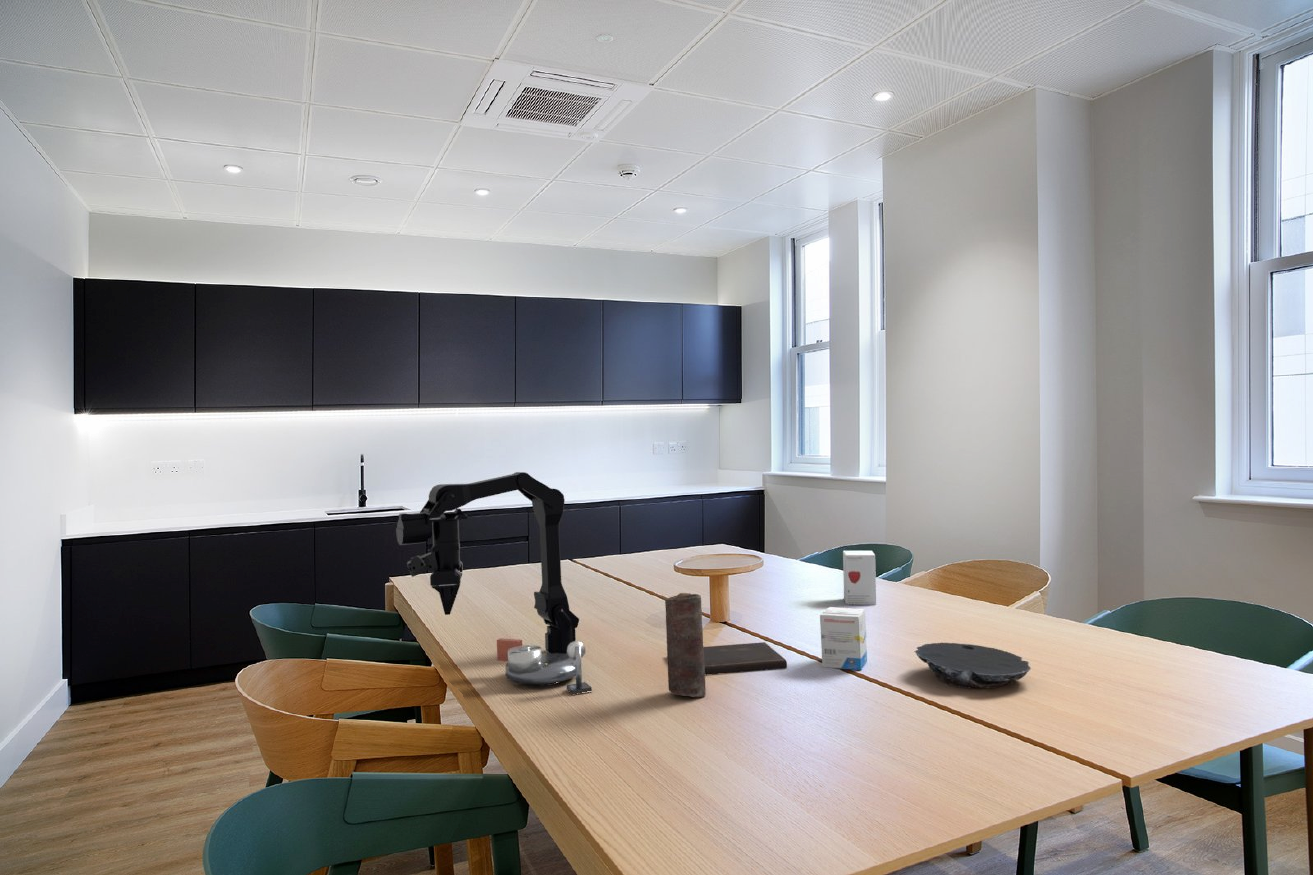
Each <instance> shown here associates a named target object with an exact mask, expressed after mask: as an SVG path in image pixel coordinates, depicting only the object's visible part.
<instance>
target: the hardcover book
mask: <svg viewBox="0 0 1313 875" xmlns="http://www.w3.org/2000/svg"><path fill="white" fill-rule="evenodd" d="M703 650H704V667H705V674H706V675H705V676H708V675H707V674H712V675H719V674H718V673H724V674H735V673H747V672H758V671H759V672H760V671H773V670H782V669H783V670H784V669H788V662H787V660H786V658H784V657H783V656H782V655H781V654H779V652H777V651H776V650H775V649H773V647H771V646H770V645H769V644H767V643H766V642H765V641H763V642H761V641H760V642H751V643H749V642H748V643H738V644H726V645H713V646H711V645H710V646H709V645H708V646H703Z"/></svg>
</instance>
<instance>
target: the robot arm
mask: <svg viewBox="0 0 1313 875" xmlns="http://www.w3.org/2000/svg"><path fill="white" fill-rule="evenodd" d="M514 491H518V492H520V493H521V495H523V496H524V497H525V498H526V499H528V500H529V501H531V504H532V509H533V513H534V516H535V518H536V521H537V523H538V526H539V527H538V528H539V542H540V543H539V544H540V565H541V568H540V569H541V585H540V586H541V587H540V589H539V591H534V592H533V597H534V607H533V608H534V609H535V610H536V612H537V615H538V616H540V617H541V618H542V619H543V622H544V624H545V625H546V632H545V633H544V641H545V642H544V643H545V644H544V645H545V646H544V647H545V651H546V650H547V651H548V652H547V651H546V652H547V653H562V654H567V647H568V645H569V644H570V643H571V642H573V641H577V640H576V638H577V637H576V629H577V628H578V627H579V624H580V623H579V622H580V618H579V617H578V616H576V615H575V614H574V613H573V612H572V611H571V610H570V605H569V600H568V596H567V593H566V591H565V589H564V586H563V584H562V565H561V563H562V562H561V561H562V560H561V543H560V542H561V541H560V523H561V520H562V517H563V515H564V509H565V495H564V493H562V492H561V491H560V489H557V488H552V487H549V486H548V485H546V484H544V483H542V482H541V481H539V480H538V479H536V478H534V477H533V476H531V475H530V474H529V473H527V472H524V471H523V472H522V471H518V472H517V471H516V472H514V473H512V474H506V475H502V476H498V477H494V478H488V479H484V480H479V481H475V482H470V483H446V484H445V483H443V484H442V483H441V484H436V485H434V486H433V487H431V489H430V491H429V494H428V500H427V501H426V503H425V504H424V506H423V507H422V509H421V510H420V511H419V512H418V513H417V512H415V513H406V512H405V513H404V512H403V513H399V514H398V521H397V524H396V526H397V527H395V528H396V529H395V534H396V541H397V543H398V545H399V546H406V545H414V544H415V545H416V544H423V543H424V544H425V543H427V542H428V540H429V539H431V538H432V546H431V548H430V552H428V553H425V554H422V555H416V556H413V557H411V558H410V560H408V561H407V562H406V566H407V570H408V572H409V573H410V576H411V578H412V577H416V576H419V574H421V573H423V572H426V571H429V570H431V571H432V573H431V574H430V576H429V581H430V584H429V585H430V586H431V588H432V589H434V590H435V591H436V592H438V594H439V597H440V601H441V605H442V609H443V612H444V615H446V616H448V615H451V613H452V610H453V607H454V605H455V604H454V603H455V601H456V599H457V595H458V592H459V590H460V586H461V581H462V580H461V579H462V576H463V571H464V568H463V566H464V565H463V561H461V555H460V554H461V551H460V550H461V543H460V529H459V528H460V524H459V520H467V519H468V518H469V517H468V515H466V513H464V512H463V511H462V509H460V508H461V507H463V506H466V505H467V504H469V503H471V502H473V501H475V500H478V499H484V498H488V497H493V496H496V495H500V494H501V495H502V494H504V493H511V492H514ZM450 511H452V512H450Z"/></svg>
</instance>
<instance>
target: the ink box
mask: <svg viewBox="0 0 1313 875" xmlns="http://www.w3.org/2000/svg"><path fill="white" fill-rule="evenodd" d="M866 611H867V610H866V609H865V608H864V609H861V608H860V609H859V608H848V607H834V606H829V607H828V608H826V609H825V610H824V611H822V613H820V615H819V624H820V640H821V642H820V644H821V663H822V664H821V665H822V668H831V669H839V670H840V669H841V670H842V669H843V670H851V671H852V670H853V671H854V670H855V671H858V670H859V671H862V670H863V668H864V667H865V665H866V664H867V661H868V652H867V651H868V650H867V648H868V647H867V619H866V618H867V616H866Z"/></svg>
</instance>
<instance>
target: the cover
mask: <svg viewBox="0 0 1313 875" xmlns="http://www.w3.org/2000/svg"><path fill="white" fill-rule="evenodd" d="M542 653H543V652H542V646H539V645H532V644H530V645H529V644H527V645H525V644H524V645H523V644H522V646H517V647H513V648H510V649H509V650H508V661H507V663H508V671H509V672H512V673H519V674H521V673H531V672H536V671H538V670H540V669H541V668H542Z"/></svg>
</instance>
